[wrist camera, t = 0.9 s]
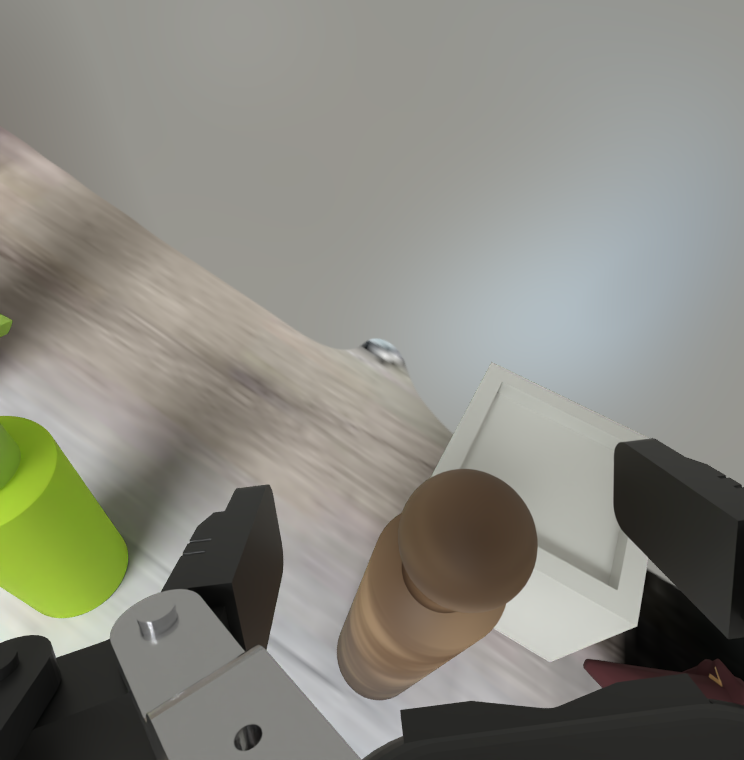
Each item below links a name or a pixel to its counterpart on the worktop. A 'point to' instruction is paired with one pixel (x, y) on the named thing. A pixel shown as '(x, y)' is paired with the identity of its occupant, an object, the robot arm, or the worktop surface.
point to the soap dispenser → (52, 525)
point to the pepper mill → (436, 581)
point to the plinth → (556, 511)
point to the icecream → (706, 675)
